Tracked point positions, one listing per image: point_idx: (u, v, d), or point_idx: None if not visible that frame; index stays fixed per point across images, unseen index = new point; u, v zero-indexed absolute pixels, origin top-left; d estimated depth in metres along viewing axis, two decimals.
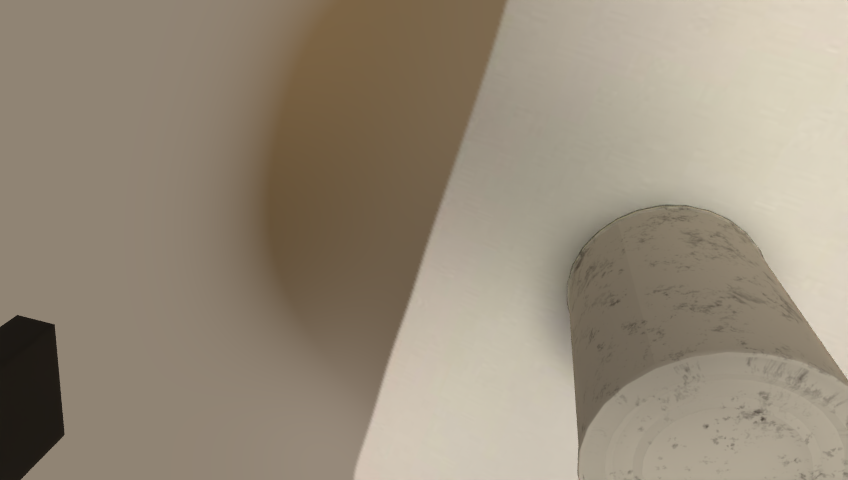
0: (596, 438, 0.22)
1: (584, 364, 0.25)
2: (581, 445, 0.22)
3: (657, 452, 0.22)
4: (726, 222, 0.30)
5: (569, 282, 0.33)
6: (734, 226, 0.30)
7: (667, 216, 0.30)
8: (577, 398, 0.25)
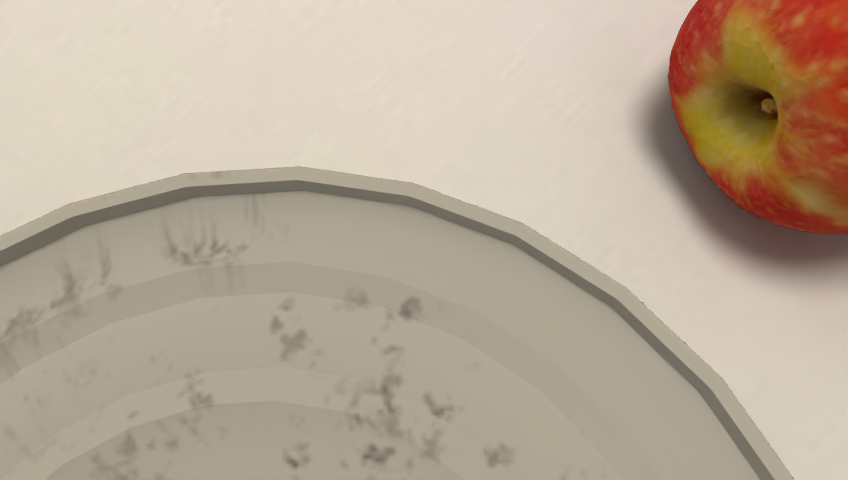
0: None
1: None
2: None
3: None
4: None
5: None
6: None
7: None
8: None
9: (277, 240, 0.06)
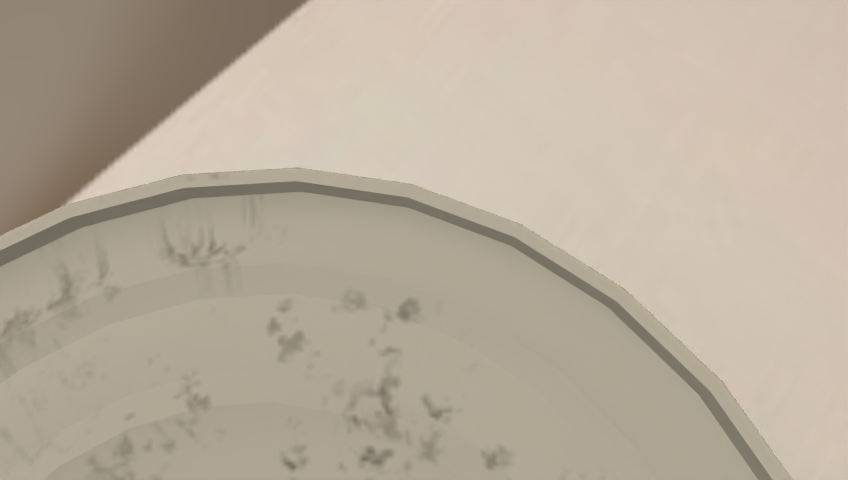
0: None
1: None
2: None
3: None
4: None
5: None
6: None
7: None
8: None
9: (275, 241, 0.06)
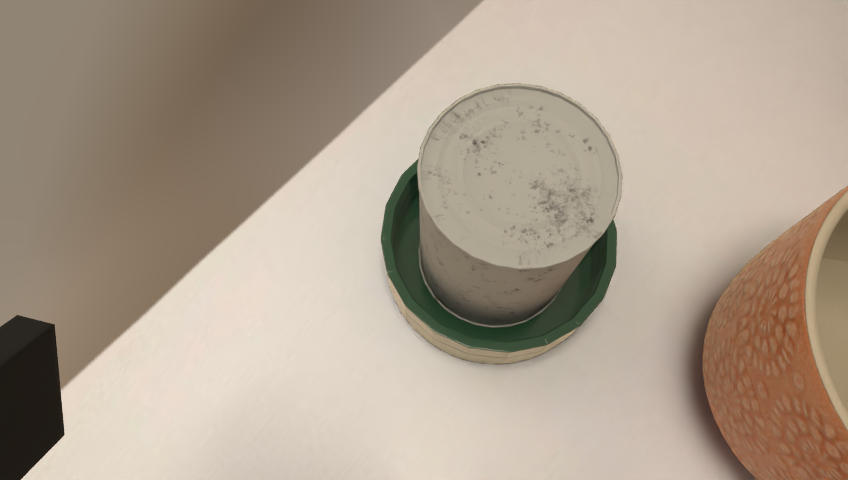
0: (468, 243, 0.29)
1: (450, 266, 0.33)
2: (468, 253, 0.29)
3: (493, 209, 0.30)
4: None
5: (457, 316, 0.40)
6: None
7: None
8: (471, 275, 0.32)
9: (515, 97, 0.32)
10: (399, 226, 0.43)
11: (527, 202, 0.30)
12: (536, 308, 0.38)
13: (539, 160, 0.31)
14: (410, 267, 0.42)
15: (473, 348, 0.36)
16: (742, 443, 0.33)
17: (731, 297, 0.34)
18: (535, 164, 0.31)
